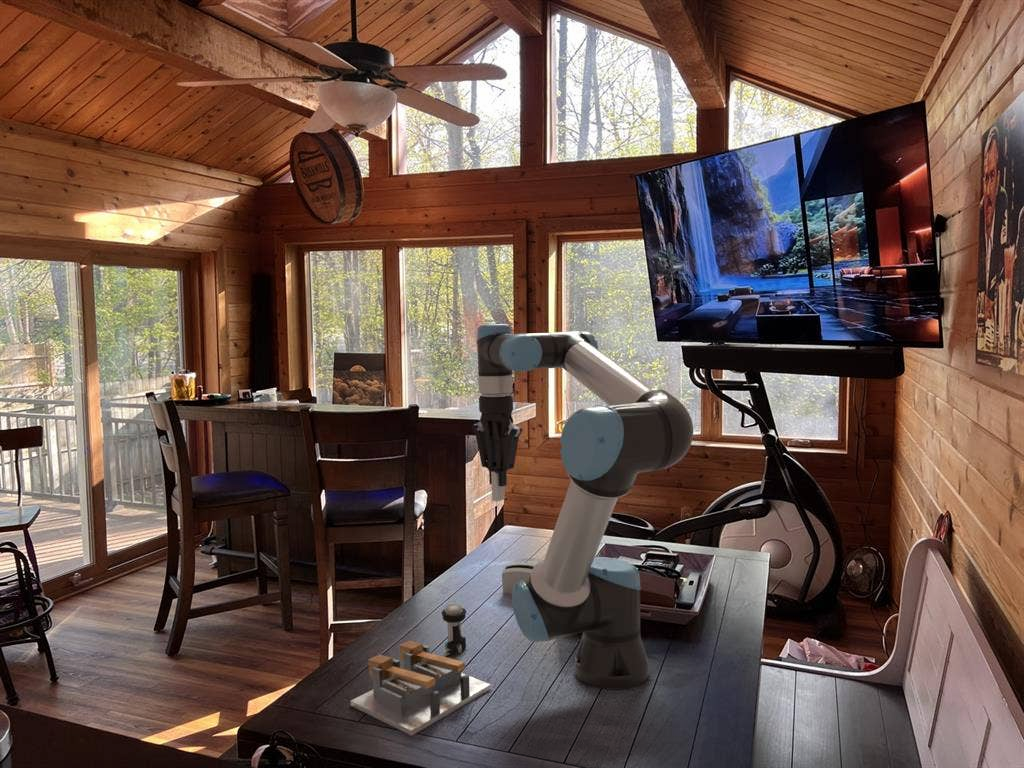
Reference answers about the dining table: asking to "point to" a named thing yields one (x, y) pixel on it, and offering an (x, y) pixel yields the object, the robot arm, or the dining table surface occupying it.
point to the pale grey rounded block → (515, 575)
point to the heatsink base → (421, 710)
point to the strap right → (429, 657)
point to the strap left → (399, 672)
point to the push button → (454, 629)
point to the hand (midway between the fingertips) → (498, 499)
